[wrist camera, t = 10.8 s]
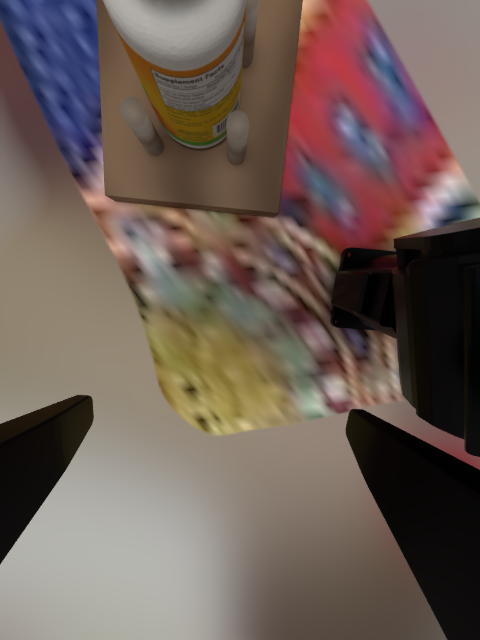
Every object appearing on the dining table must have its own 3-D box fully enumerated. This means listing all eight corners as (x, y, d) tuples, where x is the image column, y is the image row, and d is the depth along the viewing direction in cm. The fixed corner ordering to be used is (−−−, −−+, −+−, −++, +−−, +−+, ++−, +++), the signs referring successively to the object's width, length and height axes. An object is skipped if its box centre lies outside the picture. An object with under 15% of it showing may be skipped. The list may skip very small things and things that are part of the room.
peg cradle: (296, 22, 15) (327, -93, 10) (274, 217, 18) (291, 199, 13) (108, -7, 14) (47, -145, 10) (115, 201, 17) (70, 175, 12)
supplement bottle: (150, 50, 14) (-14, -411, 4) (239, 53, 14) (260, -379, 5) (158, 150, 15) (40, -46, 6) (240, 152, 15) (257, -34, 6)
